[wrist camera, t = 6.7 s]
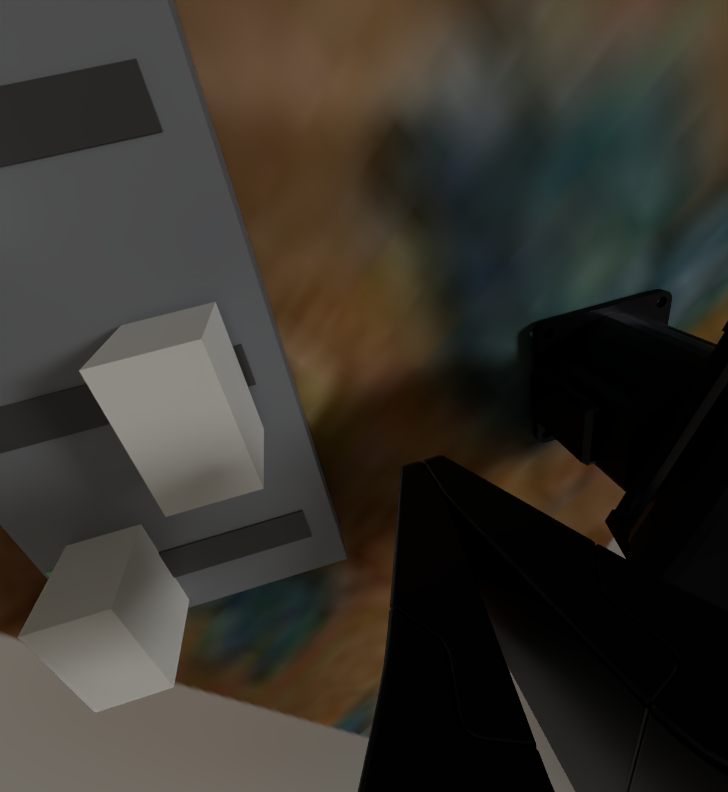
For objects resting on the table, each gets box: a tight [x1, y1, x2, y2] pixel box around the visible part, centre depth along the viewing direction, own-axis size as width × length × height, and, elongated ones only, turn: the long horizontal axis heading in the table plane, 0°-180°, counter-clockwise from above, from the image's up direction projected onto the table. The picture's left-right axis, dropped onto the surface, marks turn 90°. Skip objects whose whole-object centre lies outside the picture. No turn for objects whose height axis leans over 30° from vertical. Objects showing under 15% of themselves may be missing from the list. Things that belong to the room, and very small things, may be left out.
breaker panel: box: [0, 0, 347, 713], centre depth 14 cm, size 12×22×6 cm, turn 12°
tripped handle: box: [79, 302, 264, 517], centre depth 13 cm, size 3×5×4 cm, turn 12°
